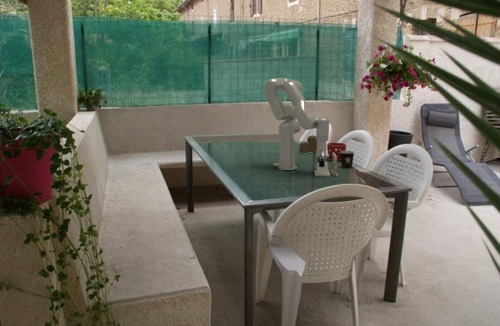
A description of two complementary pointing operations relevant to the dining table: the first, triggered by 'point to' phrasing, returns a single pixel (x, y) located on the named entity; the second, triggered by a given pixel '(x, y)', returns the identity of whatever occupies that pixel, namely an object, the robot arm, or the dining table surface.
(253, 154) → the dining table surface
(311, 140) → the brown stepped block
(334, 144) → the plant pot
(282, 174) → the dining table surface
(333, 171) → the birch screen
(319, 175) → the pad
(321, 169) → the letter cube
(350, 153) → the coffee mug
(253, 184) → the dining table surface
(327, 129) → the robot arm
